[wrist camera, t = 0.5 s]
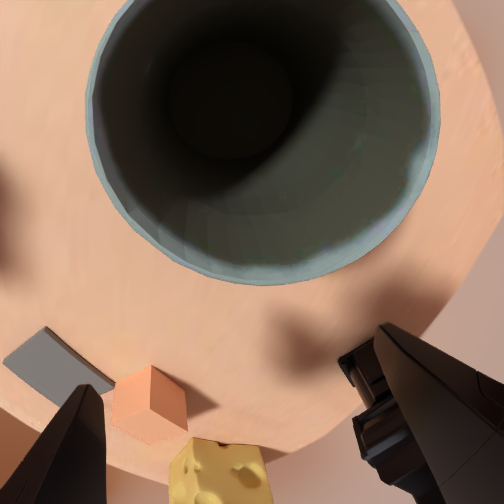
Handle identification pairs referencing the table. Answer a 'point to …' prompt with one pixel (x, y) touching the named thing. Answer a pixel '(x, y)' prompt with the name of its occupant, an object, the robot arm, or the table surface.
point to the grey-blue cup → (262, 130)
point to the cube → (149, 406)
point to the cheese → (218, 475)
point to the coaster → (54, 368)
